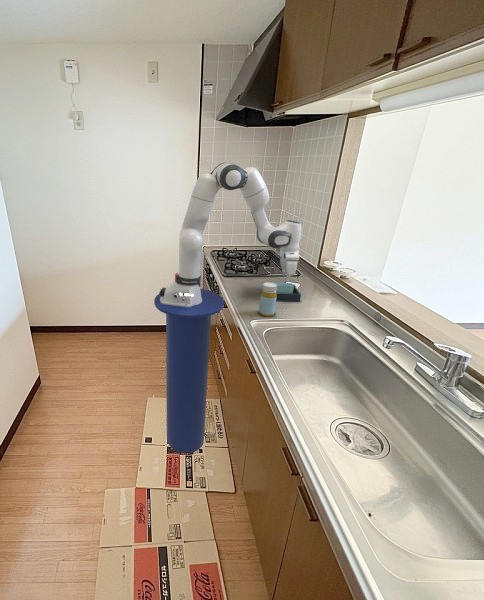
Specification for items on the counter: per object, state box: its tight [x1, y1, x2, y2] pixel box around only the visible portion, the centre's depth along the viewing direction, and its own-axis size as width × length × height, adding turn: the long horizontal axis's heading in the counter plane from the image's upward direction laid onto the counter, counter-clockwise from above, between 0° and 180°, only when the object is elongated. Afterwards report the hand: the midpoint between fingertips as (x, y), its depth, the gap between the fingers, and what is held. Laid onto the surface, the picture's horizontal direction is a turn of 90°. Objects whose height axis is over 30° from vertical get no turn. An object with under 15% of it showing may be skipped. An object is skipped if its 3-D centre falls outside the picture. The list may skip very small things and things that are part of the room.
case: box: [274, 282, 294, 294], centre depth 175 cm, size 9×5×6 cm, turn 82°
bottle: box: [258, 281, 277, 318], centre depth 153 cm, size 7×7×15 cm
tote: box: [276, 284, 302, 303], centre depth 176 cm, size 15×15×4 cm
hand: (285, 278), depth 172 cm, fingers open, 8 cm apart
